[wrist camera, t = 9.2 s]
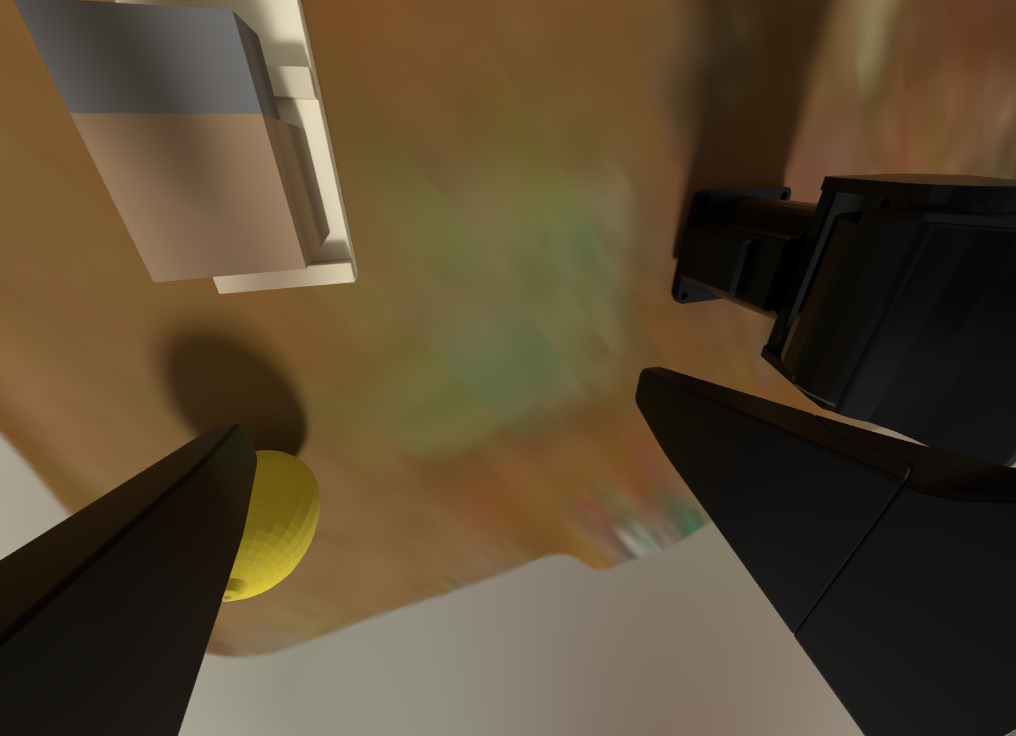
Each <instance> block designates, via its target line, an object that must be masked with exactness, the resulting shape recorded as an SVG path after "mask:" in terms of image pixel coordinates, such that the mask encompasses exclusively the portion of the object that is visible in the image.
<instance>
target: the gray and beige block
mask: <svg viewBox="0 0 1016 736" xmlns="http://www.w3.org/2000/svg"><path fill="white" fill-rule="evenodd" d="M14 1H15V3H16V5H17V7H18V9H19V11H20V13H21V15H22V17H23V19H24V21H25V23H26V25H27V27H28V29H29V31H30V33H31V35H32V37H33V39H34V41H35V43H36V45H37V47H38V49H39V52H40V54H41V56H42V58H43V60H44V62H45V64H46V66H47V68H48V70H49V72H50V74H51V76H52V78H53V80H54V82H55V84H56V86H57V88H58V90H59V92H60V94H61V96H62V98H63V100H64V102H65V104H66V106H67V108H68V110H69V112H70V114H71V116H72V118H73V120H74V122H75V124H76V126H77V128H78V130H79V132H80V134H81V136H82V138H83V140H84V142H85V144H86V146H87V148H88V150H89V152H90V154H91V156H92V158H93V160H94V162H95V164H96V166H97V168H98V170H99V172H100V174H101V176H102V178H103V180H104V182H105V184H106V186H107V188H108V190H109V192H110V195H111V197H112V199H113V201H114V203H115V205H116V207H117V209H118V211H119V213H120V215H121V217H122V219H123V221H124V223H125V225H126V227H127V229H128V231H129V233H130V235H131V237H132V239H133V241H134V243H135V245H136V247H137V249H138V251H139V253H140V255H141V257H142V259H143V261H144V263H145V265H146V267H147V269H148V271H149V273H150V275H151V277H152V279H153V281H154V282H163V281H174V280H185V279H197V278H208V277H220V276H231V275H242V274H254V273H265V272H277V271H288V270H299V269H307V267H308V266H309V264H310V263H311V261H312V260H313V258H314V256H315V255H316V253H317V252H318V250H319V249H320V247H321V246H322V244H323V243H324V241H325V240H326V238H327V237H328V235H329V233H330V230H329V226H328V222H327V218H326V214H325V209H324V205H323V201H322V197H321V193H320V189H319V185H318V181H317V177H316V173H315V168H314V164H313V160H312V156H311V152H310V148H309V144H308V140H307V136H306V131H305V129H303V128H300V127H297V126H294V125H292V124H289V123H286V122H283V121H281V119H280V115H279V111H278V108H277V104H276V100H275V97H274V93H273V89H272V85H271V82H270V78H269V74H268V70H267V67H266V63H265V59H264V55H263V52H262V48H261V44H260V40H259V37H258V35H257V34H256V33H255V32H254V31H253V30H252V29H251V28H250V27H249V26H248V25H247V24H246V23H245V22H244V21H243V20H242V19H241V18H240V17H239V16H238V15H237V14H236V13H235V12H234V11H233V10H229V9H213V8H196V7H180V6H164V5H147V4H131V3H114V2H98V1H82V0H14Z"/></svg>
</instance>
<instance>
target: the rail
mask: <svg viewBox="0 0 1016 736" xmlns="http://www.w3.org/2000/svg"><path fill="white" fill-rule="evenodd" d="M115 2H116V3H131V4H147V5H164V6H180V7H196V8H213V9H229V10H233V11H234V12H235V13H236V14H237V15H238V16H239V17H240V18H241V19H242V20H243V21H244V22H245V23H246V24H247V25H248V26H249V27H250V28H251V29H252V30H253V31H254V32H255V33H256V34H257V35H258V37H259V40H260V44H261V48H262V52H263V55H264V59H265V63H266V67H267V70H268V74H269V78H270V82H271V85H272V89H273V93H274V97H275V100H276V104H277V108H278V111H279V115H280V119H281V121H283V122H286V123H289V124H292V125H294V126H297V127H300V128H303V129H305V131H306V136H307V140H308V144H309V148H310V152H311V156H312V160H313V164H314V168H315V173H316V177H317V181H318V185H319V189H320V193H321V197H322V201H323V205H324V209H325V214H326V218H327V222H328V226H329V230H330V233H329V235H328V237H327V238H326V240H325V241H324V243H323V244H322V246H321V247H320V249H319V250H318V252H317V253H316V255H315V256H314V258H313V260H312V261H311V263H310V264H309V266H308V267H307V269H299V270H288V271H277V272H265V273H254V274H242V275H231V276H220V277H213V279H214V281H215V284H216V286H217V289H218V291H219V294H222V293H234V292H245V291H257V290H268V289H279V288H291V287H302V286H314V285H325V284H336V283H348V282H355V279H356V277H357V272H358V269H357V265H356V260H355V255H354V250H353V245H352V240H351V236H350V231H349V226H348V221H347V216H346V212H345V207H344V202H343V197H342V192H341V187H340V183H339V178H338V173H337V168H336V163H335V158H334V154H333V149H332V144H331V139H330V134H329V129H328V125H327V120H326V115H325V110H324V105H323V101H322V96H321V91H320V86H319V81H318V76H317V72H316V67H315V62H314V57H313V52H312V47H311V43H310V38H309V33H308V28H307V23H306V19H305V14H304V9H303V4H302V0H115Z"/></svg>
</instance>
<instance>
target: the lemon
mask: <svg viewBox="0 0 1016 736" xmlns="http://www.w3.org/2000/svg"><path fill="white" fill-rule="evenodd" d="M255 452H256V455H257V468H256V473H255V479H254V484H253V489H252V494H251V499H250V504H249V510H248V515H247V520H246V525H245V529H244V534H243V537H242V540H241V544H240V547H239V550H238V553H237V556H236V559H235V562H234V566H233V569H232V572H231V575H230V578H229V581H228V584H227V587H226V590H225V593H224V596H223V599H222V601H224V602H229V601H233V600H240V599H245V598H249V597H252V596H255V595H257V594H260V593H262V592H264V591H266V590H268V589H269V588H271V587H273V586H275V585H276V584H277V583H279V582H280V581H281V580H283V579H284V578H285V577H286V576H287V575H288V574H289V573H290V572H291V571H292V570H293V569H294V568H295V566H296V565H297V564H298V562H299V561H300V560H301V558H302V557H303V555H304V554H305V552H306V550H307V548H308V546H309V544H310V542H311V540H312V538H313V535H314V532H315V528H316V525H317V522H318V518H319V513H320V496H319V487H318V484H317V481H316V479H315V477H314V475H313V473H312V471H311V470H310V469H309V468H308V467H307V466H306V465H305V464H304V462H302V461H301V460H299V459H298V458H296V457H294V456H293V455H290V454H287V453H284V452H280V451H274V450H259V451H255Z"/></svg>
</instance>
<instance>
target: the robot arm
mask: <svg viewBox="0 0 1016 736" xmlns="http://www.w3.org/2000/svg"><path fill="white" fill-rule="evenodd" d="M821 190H823V191H822V194H821V197H820V199H819V202H818V204H816V203H807V202H798V201H789V199H790V196H791V189H790V188H789V187H782V186H779V187H754V188H729V189H703V190H700V191H699V192H698V193H697V194H696V195H695V198H694V201H693V205H692V210H691V215H690V219H689V224H688V229H687V233H686V238H685V243H684V247H683V252H682V256H681V261H680V266H679V270H678V275H677V280H676V284H675V289H674V294H673V299H674V300H675V301H676V302H678V303H681V304H684V303H692V302H700V301H707V300H715V299H723V298H724V299H726V300H728V301H731V302H733V303H736V304H738V305H741V306H743V307H745V308H748V309H750V310H753V311H755V312H757V313H760V314H762V315H765V316H767V317H770V318H772V319H774V320H775V323H774V325H773V328H772V331H771V334H770V336H769V339H768V342H767V345H764V347H763V350H762V353H761V356H762V357H763V358H764V359H765V360H766V361H767V362H769V363H770V364H771V365H772V366H773V367H774V368H775V369H776V370H778V371H779V372H780V373H781V374H782V375H783V376H784V377H785V378H786V379H788V380H789V381H790V382H791V383H792V384H793V385H794V386H795V387H796V388H798V389H799V390H800V391H801V392H802V393H803V394H804V395H805V396H807V397H808V398H809V399H810V400H812V401H813V402H814V403H816V404H817V405H818V406H819V407H821V408H823V409H825V410H828V411H832V412H835V413H837V414H840V415H843V416H846V417H849V418H853V419H857V420H861V421H866V422H870V423H873V424H876V425H878V426H881V427H884V428H887V429H890V430H893V431H895V432H898V433H900V434H902V435H905V436H907V437H909V438H912V439H914V440H916V441H918V442H920V443H922V444H925V445H927V446H929V447H927V446H923V445H919V444H915V443H912V442H908V441H904V440H901V439H897V438H893V437H890V436H886V435H883V434H879V433H876V432H872V431H868V430H865V429H861V428H858V427H855V426H851V425H848V424H845V423H841V422H838V421H835V420H831V419H828V418H825V417H821V416H818V415H815V416H814V415H813V414H811V413H808V412H805V411H802V410H798V409H795V408H792V407H789V406H785V405H782V404H779V403H776V402H772V401H769V400H766V399H763V398H759V397H756V396H753V395H750V394H746V393H743V392H740V391H736V390H733V389H730V388H727V387H723V386H720V385H717V384H714V383H710V382H707V381H704V380H701V379H697V378H694V377H691V376H688V375H684V374H681V373H678V372H675V371H671V370H668V369H665V368H662V367H651V368H645V369H643V370H642V371H641V373H640V377H639V382H638V386H637V391H636V396H635V398H636V403H637V406H638V408H639V410H640V411H641V413H642V415H643V417H644V418H645V420H646V422H647V424H648V425H649V427H650V429H651V431H652V432H653V434H654V436H655V438H656V440H657V441H658V443H659V445H660V446H661V448H662V450H663V451H664V453H665V454H666V456H667V457H668V459H669V460H670V462H671V463H672V465H673V466H674V467H675V469H676V470H677V472H678V473H679V474H680V476H681V477H682V479H683V480H684V482H685V483H686V484H687V486H688V487H689V489H690V490H691V491H692V493H693V494H694V496H695V497H696V498H697V500H698V501H699V503H700V504H701V505H702V507H703V508H704V510H705V511H706V512H707V514H708V515H709V517H710V518H711V520H712V521H713V522H714V524H715V525H716V527H717V528H718V529H719V531H720V532H721V534H722V535H723V536H724V538H725V539H726V541H727V542H728V543H729V545H730V546H731V548H732V549H733V550H734V552H735V553H736V555H737V556H738V558H739V559H740V560H741V562H742V563H743V565H744V566H745V567H746V569H747V570H748V572H749V573H750V574H751V576H752V577H753V579H754V580H755V581H756V583H757V584H758V586H759V587H760V588H761V590H762V591H763V593H764V594H765V596H766V597H767V598H768V600H769V601H770V603H771V604H772V605H773V606H774V608H775V610H776V611H777V612H778V613H779V615H780V616H781V618H782V619H783V621H784V622H785V624H786V625H787V626H788V628H789V629H790V631H791V632H792V633H794V637H795V638H796V639H797V641H798V642H799V644H800V645H801V647H802V648H803V649H804V651H805V652H806V654H807V655H808V656H809V658H810V659H811V661H812V662H813V664H814V665H815V666H816V668H817V669H818V671H819V672H820V673H821V675H822V676H823V678H824V679H825V680H826V682H827V683H828V684H829V686H830V688H831V689H832V690H833V692H834V693H835V695H836V696H837V697H838V699H839V700H840V702H841V703H842V704H843V706H844V707H845V709H846V710H847V711H848V713H849V714H850V716H851V717H852V718H853V720H854V721H855V723H856V724H857V726H858V727H859V728H860V730H861V731H862V733H863V734H864V735H865V736H1016V468H1013V467H1008V466H1013V465H1014V464H1015V463H1016V180H1009V179H1000V178H991V177H981V176H972V175H940V174H877V175H849V176H825V178H824V181H823V184H822V187H821ZM780 196H781V197H780ZM704 197H705V200H704V202H703V203H702V200H703V198H704ZM682 294H683V296H682V297H681V295H682ZM256 468H257V455H256V452H255V449H254V447H253V444H252V442H251V439H250V437H249V434H248V432H247V430H246V428H245V426H244V425H243V424H242V423H240V422H234V423H227V424H219V425H216V426H214V427H213V428H211V429H209V430H208V431H206V432H205V433H203V434H201V435H200V436H198V437H197V438H195V439H193V440H192V441H190V442H189V443H187V444H185V445H184V446H182V447H181V448H179V449H177V450H176V451H174V452H173V453H171V454H169V455H168V456H166V457H165V458H163V459H161V460H160V461H158V462H157V463H155V464H153V465H152V466H150V467H149V468H147V469H145V470H144V471H142V472H141V473H139V474H137V475H136V476H134V477H133V478H131V479H129V480H128V481H126V482H125V483H123V484H121V485H120V486H118V487H117V488H115V489H114V490H112V491H110V492H109V493H107V494H106V495H104V496H102V497H101V498H99V499H98V500H96V501H94V502H93V503H91V504H90V505H88V506H86V507H85V508H83V509H82V510H80V511H78V512H77V513H75V514H74V515H72V516H70V517H69V518H67V519H66V520H64V521H63V522H61V523H59V524H58V525H56V526H54V527H53V528H51V529H50V530H48V531H46V532H45V533H43V534H42V535H40V536H38V537H37V538H35V539H34V540H32V541H30V542H29V543H27V544H26V545H24V546H22V547H21V548H19V549H18V550H16V551H15V552H13V553H11V554H10V555H8V556H6V557H5V558H3V559H2V560H0V736H178V734H179V731H180V728H181V725H182V722H183V719H184V715H185V713H186V709H187V707H188V703H189V700H190V697H191V694H192V691H193V688H194V685H195V682H196V679H197V676H198V672H199V670H200V667H201V664H202V660H203V657H204V654H205V651H206V648H207V645H208V642H209V639H210V636H211V633H212V630H213V627H214V624H215V621H216V618H217V615H218V611H219V608H220V605H221V602H222V599H223V596H224V593H225V590H226V587H227V584H228V581H229V578H230V575H231V572H232V569H233V566H234V562H235V559H236V556H237V553H238V550H239V547H240V544H241V540H242V537H243V534H244V529H245V525H246V520H247V515H248V510H249V504H250V499H251V494H252V489H253V484H254V479H255V473H256Z"/></svg>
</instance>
